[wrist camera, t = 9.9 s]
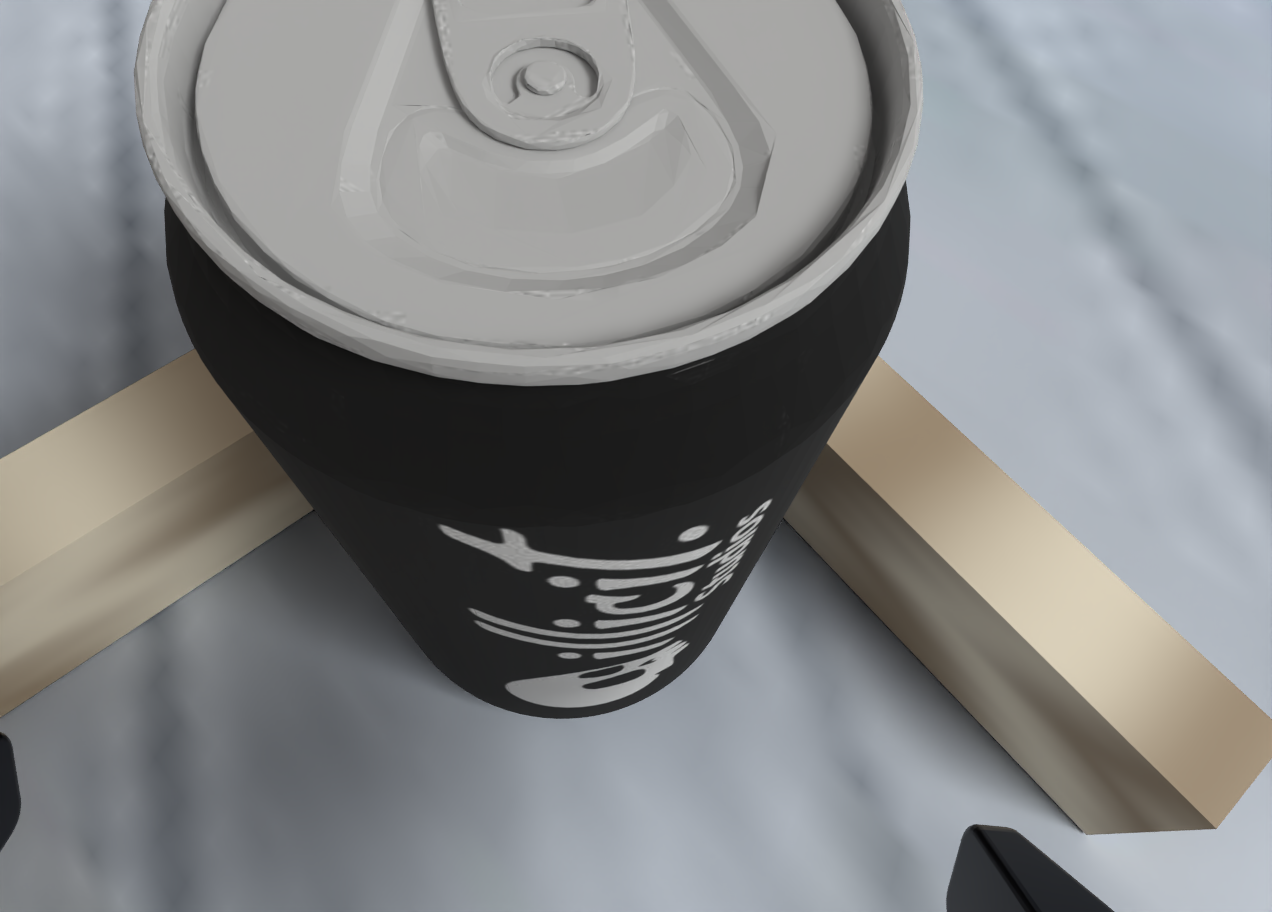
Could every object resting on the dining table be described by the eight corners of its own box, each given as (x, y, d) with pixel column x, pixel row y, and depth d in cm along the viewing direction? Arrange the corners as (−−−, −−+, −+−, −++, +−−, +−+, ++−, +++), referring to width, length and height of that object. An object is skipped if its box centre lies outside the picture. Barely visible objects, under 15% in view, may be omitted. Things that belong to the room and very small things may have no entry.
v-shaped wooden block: (1163, 842, 15) (1313, 838, 12) (-101, 722, 15) (-282, 687, 12) (1067, 260, 21) (1153, 154, 18) (144, 164, 21) (66, 39, 18)
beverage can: (411, 753, 15) (-1, 505, 5) (391, 431, 18) (105, -209, 7) (763, 693, 16) (1132, 356, 5) (694, 393, 19) (845, -235, 8)
